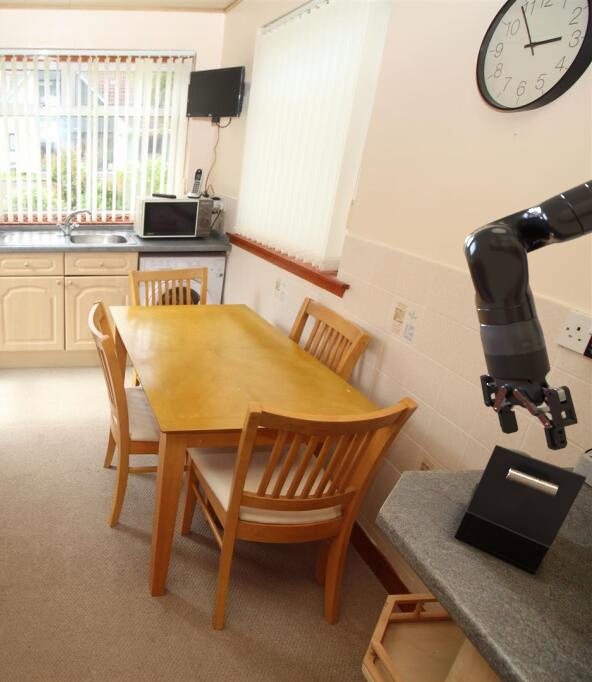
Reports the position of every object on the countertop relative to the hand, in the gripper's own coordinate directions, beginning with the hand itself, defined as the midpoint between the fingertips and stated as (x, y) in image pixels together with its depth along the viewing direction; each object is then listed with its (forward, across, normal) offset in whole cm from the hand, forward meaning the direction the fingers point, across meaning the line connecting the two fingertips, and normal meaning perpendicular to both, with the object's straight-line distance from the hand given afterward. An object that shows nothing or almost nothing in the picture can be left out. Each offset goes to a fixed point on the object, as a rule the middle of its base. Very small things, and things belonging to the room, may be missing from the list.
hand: (532, 440), depth 78 cm
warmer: (+18, +3, +7) cm, 19 cm away
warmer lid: (+6, -3, +6) cm, 9 cm away
